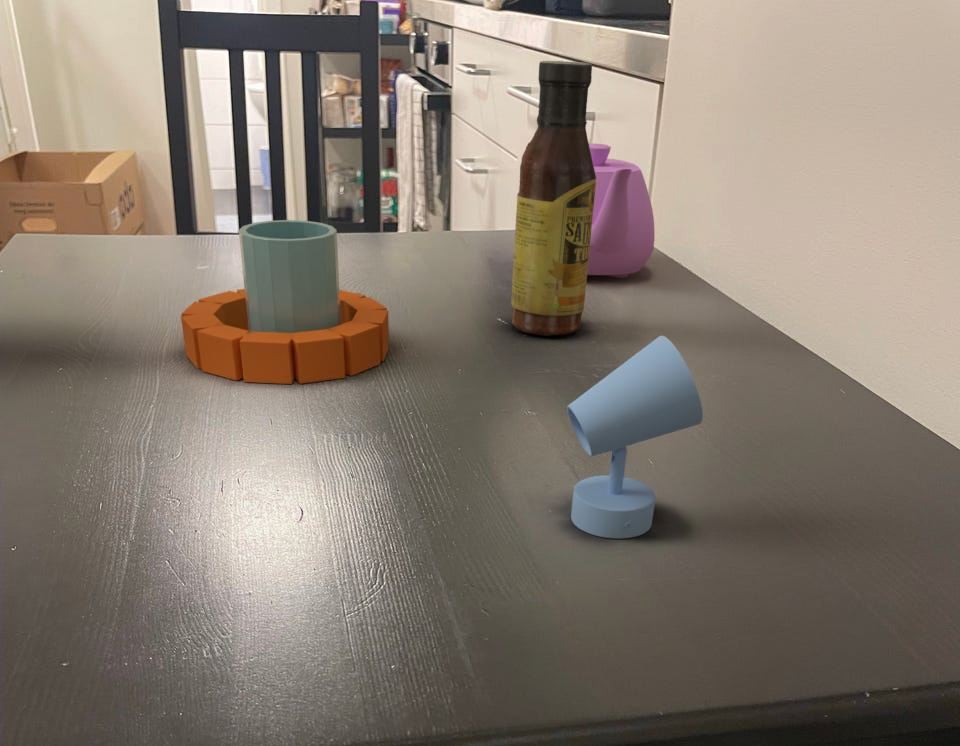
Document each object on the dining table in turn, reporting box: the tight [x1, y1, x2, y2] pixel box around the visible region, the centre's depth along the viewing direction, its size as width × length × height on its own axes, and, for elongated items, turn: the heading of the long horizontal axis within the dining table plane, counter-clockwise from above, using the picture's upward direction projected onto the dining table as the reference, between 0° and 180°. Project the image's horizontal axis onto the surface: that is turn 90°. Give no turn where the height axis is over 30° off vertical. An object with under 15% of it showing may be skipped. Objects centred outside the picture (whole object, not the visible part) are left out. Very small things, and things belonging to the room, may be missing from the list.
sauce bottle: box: [510, 60, 596, 337], centre depth 78 cm, size 7×6×20 cm
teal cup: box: [238, 219, 341, 333], centre depth 74 cm, size 7×7×9 cm
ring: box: [180, 288, 390, 385], centre depth 76 cm, size 15×15×3 cm
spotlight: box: [566, 335, 704, 539], centre depth 51 cm, size 5×10×7 cm
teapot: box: [587, 143, 655, 279], centre depth 98 cm, size 20×13×12 cm, turn 10°
